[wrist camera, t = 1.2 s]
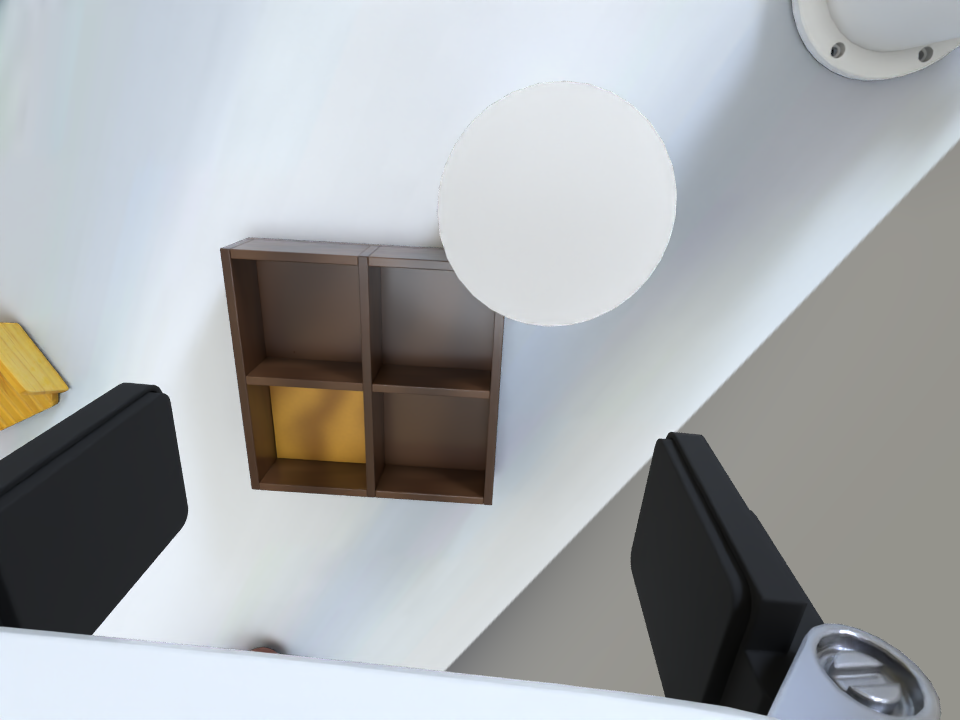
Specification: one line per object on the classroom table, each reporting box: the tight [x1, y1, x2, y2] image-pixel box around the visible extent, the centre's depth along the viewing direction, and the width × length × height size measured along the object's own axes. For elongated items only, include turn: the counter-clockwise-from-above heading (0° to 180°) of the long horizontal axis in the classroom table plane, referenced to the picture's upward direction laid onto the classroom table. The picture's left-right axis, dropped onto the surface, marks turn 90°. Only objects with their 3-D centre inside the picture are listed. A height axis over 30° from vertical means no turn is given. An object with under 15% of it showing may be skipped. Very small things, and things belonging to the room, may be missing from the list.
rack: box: [220, 238, 504, 505], centre depth 44 cm, size 20×20×5 cm
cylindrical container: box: [437, 81, 677, 327], centre depth 28 cm, size 7×7×25 cm
